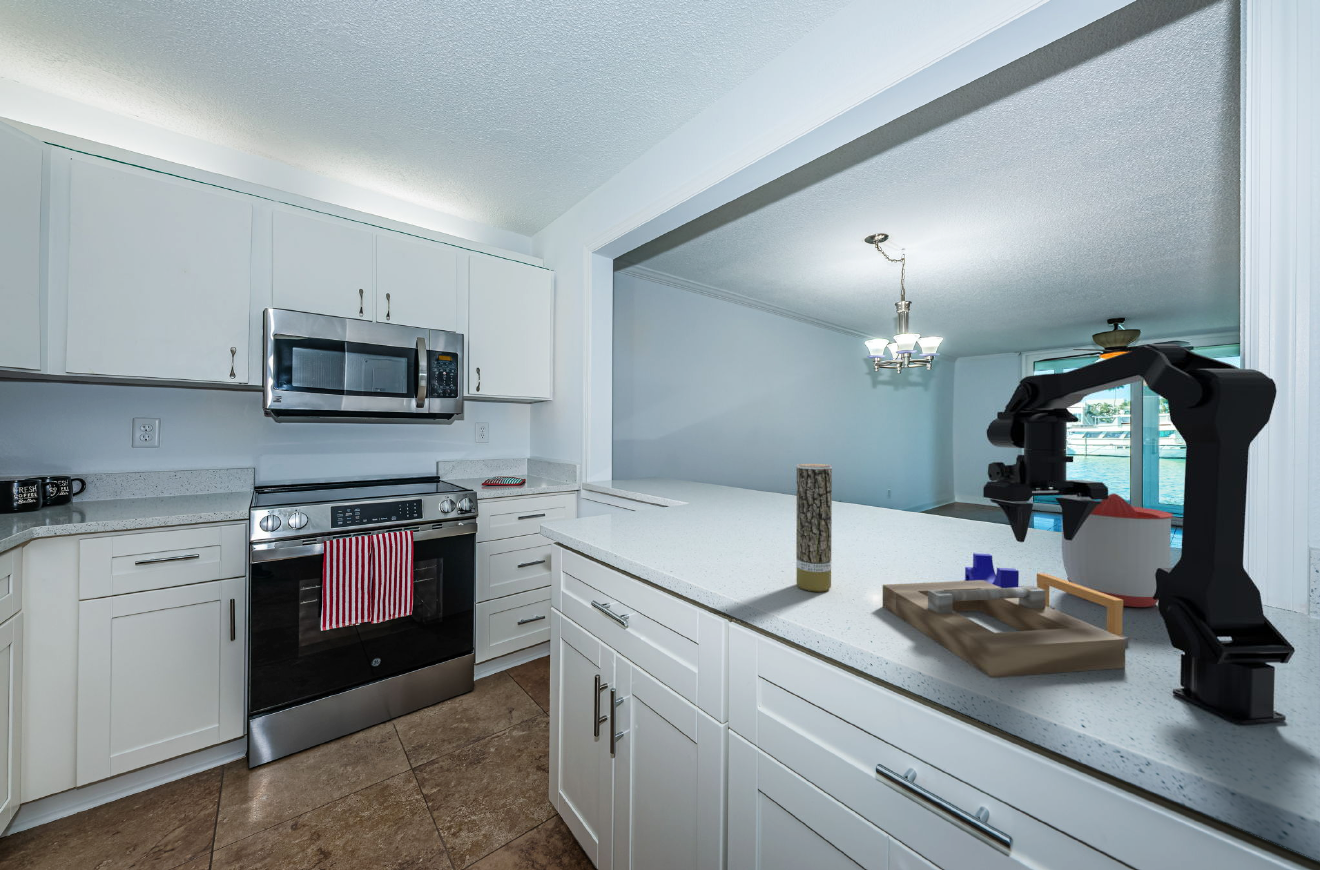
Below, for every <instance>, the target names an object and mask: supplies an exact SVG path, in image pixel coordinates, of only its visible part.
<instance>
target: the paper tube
mask: <svg viewBox="0 0 1320 870" xmlns="http://www.w3.org/2000/svg"><path fill="white" fill-rule="evenodd" d="M832 482H833V468H832V464H826V463H825V464H824V463H799V464H796V537H795V538H796V541H795V543H796V544H795V545H796V547H795V548H796V557H795V560H796V562H795V563H796V574H795V575H796V581H795V582H796V584H797V586H798V588H800V589H801V590H804V591H808V592H815V593H816V592H817V593H818V592H819V593H822V592H826V591H828V590H830V588H831V587H832V533H833V532H832V529H833V528H832V521H833V520H832V515H833V513H832V503H833V502H832V501H833V500H832V499H833V498H832V497H833V496H832V493H833V492H832V489H833V487H832V486H833V483H832Z"/></svg>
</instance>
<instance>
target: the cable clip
mask: <svg viewBox="0 0 1320 870" xmlns="http://www.w3.org/2000/svg"><path fill="white" fill-rule="evenodd" d="M993 561H994V560H993V555H991V554H990V553H976V552H975V553H974V552H973V553H972V566H964V567H965V568H964V570H965V571H964V581H976V580H984V581H986V582H989V583H991V584H994V585H996V586H998V587H1001V588H1016V587H1019V586H1020V584H1019V581H1020V580H1019V579H1020V576H1019V573H1020V571H1019V570H1018V569H1016V568H1011V567H1010V568H1009V567H996V571H995V568H994V562H993Z"/></svg>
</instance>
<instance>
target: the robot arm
mask: <svg viewBox="0 0 1320 870" xmlns="http://www.w3.org/2000/svg"><path fill="white" fill-rule="evenodd" d="M1142 381H1144V382H1145V383H1146V385H1147V388H1148V389H1149V390H1151V392H1153V393H1155V394H1156V395H1158V396H1159V397H1162V399H1164V400H1166V401H1167V405H1168V406H1167V407H1168V412H1169V419H1170V420H1169V421H1170V422H1171V423H1172V425H1173V426H1174V428H1175V429H1176V430H1177V432H1178V434H1179V435H1180V436H1181V437H1182V439H1183V440H1184V443H1185V465H1184V485H1183V511H1182V512H1183V513H1182V529H1181V531H1182V532H1181V549H1180V550H1181V554H1180V555H1181V556H1180V558H1179V560H1178V561H1177V562H1176V564H1175V565H1174V566H1173V567H1170V568H1158V569H1157V571H1156V574H1155V578H1156V592H1155V594H1154V596H1153V599H1154V600H1158V601H1157V607H1158V612H1159V615H1160V617H1161V618H1162V619H1163V622H1164V625H1165V629H1166V631H1167V635H1168V637H1169V640H1170V644H1171V646H1172V647H1173V648H1175V649H1177V650H1179V651H1181V652H1182V653H1181V654H1180V669H1179V670H1180V678H1179V681H1180V683H1179V684H1180V686H1181V687H1180V688H1172V694H1173V695H1175V696H1177V697H1180V698H1181V699H1184V700H1186V701H1187V702H1190V703H1191V704H1194V705H1195V706H1198V707H1200V708H1202V709H1204V710H1206V711H1208V712H1211V713H1213V714H1214V715H1217V716H1219V717H1221V718H1224V719H1226V720H1227V721H1230V722H1232V723H1234V724H1237V725H1250V724H1252V725H1253V724H1262V723H1276V722H1285V721H1286V719H1287V718H1286V717H1287V716H1286V715H1284V714H1282V713H1280V712H1278V711H1276V710H1275V680H1276V679H1275V678H1276V677H1275V675H1276V674H1275V671H1276V667H1275V666H1274V665H1271V664H1272V663H1273V664H1275V663H1277V664H1278V663H1279V664H1288V663H1289V661H1290V660H1291V658H1292V657H1293V655H1294V653H1295V651H1296V650H1295V647H1294V646H1293V645H1292V644H1291V642H1289V641H1288V639H1286V638H1285V637H1284V635H1283V634H1282V633H1281V632H1280V631H1279V630H1278V629H1277V627H1275V625H1274V624H1273V623H1272V622H1271V621H1270V620H1269V619H1268V618H1267V617H1266V616H1265V615H1264V614H1265V613H1264V610H1263V609H1264V608H1263V603H1262V602H1263V601H1262V597H1261V592H1260V590H1259V589H1260V588H1258V586H1257V585H1256V584H1255V582H1254V581H1253V579H1252V578H1251V577H1250V575H1249V574H1248V572H1247V571H1246V569H1245V568H1244V551H1245V549H1244V548H1245V545H1244V544H1245V527H1246V511H1247V510H1246V509H1247V507H1246V506H1247V493H1248V492H1247V489H1248V488H1247V487H1248V472H1249V470H1248V469H1249V450H1250V447H1251V446H1250V445H1251V444H1252V442H1253V441H1254V439H1256V437H1257V436H1258V435H1259V433H1260V432H1261V431H1262V430H1263V429H1264V427H1265V426H1267V424H1268V423H1269V421H1270V419H1271V415H1272V411H1273V408H1274V404H1275V402H1276V401H1275V400H1276V397H1277V385H1276V383H1275V381H1274V380H1273V378H1271V377H1270V378H1269V376H1267V375H1266V373H1263V372H1262V371H1259V370H1256V369H1253V368H1240V367H1238V366H1236V365H1233V364H1231V363H1227V362H1224V361H1222V360H1221V361H1220V360H1218V359H1215V358H1211V357H1208V356H1204V355H1201V354H1199V353H1196V352H1194V351H1192V350H1190V349H1189V348H1186V347H1183V346H1181V345H1180V344H1179V345H1178V344H1174V343H1170V344H1169V343H1167V344H1163V343H1162V344H1159V343H1158V344H1153V343H1149V344H1142V345H1140V346H1137V347H1136V348H1134V349H1133V350H1130V351H1128V352H1124V353H1120V354H1118V355H1115V356H1111V357H1109V358H1105V359H1103V360H1099V361H1096V362H1093V363H1090V364H1087V365H1084V366H1081V367H1079V368H1075V369H1072V370H1070V371H1069V370H1068V371H1066V372H1057V373H1056V372H1055V373H1043V374H1035V375H1027V376H1025V377H1023V378H1022V379H1021V380H1020V381H1019V384H1018V386H1017V387H1016V389H1015V390H1014V392H1013V394H1012V396H1011V397H1010V400H1009V401H1008V403H1007V404H1006V405H1005V409H1004V411H998V412H997V413H996V414H997V415H996V417H997V418H995V419H994V420H992V421H991V422H990V423H989V425H988V427H987V429H986V437H987V438H986V439H987V440H988V441H989V443H990V444H991V445H992V446H994V447H996V448H1008V449H1010V448H1011V449H1023V454H1017V456H1016V459H1015V460H1016V461H1015V463H1014V464H1006V463H1004V462H1003V461H997V462H994V461H993V462H991V463H989V464H988V466H987V476H988V478H989V479H988V480H989V481H987V482H985V484H984V485H983V489H982V491H983V493H982V495H983V496H982V497H983V498H988V499H989V501H990V502H991V503H994V504H996V505H997V506H998V507H1000V508H1001V510H1002V511H1003V512H1004V514H1005V517H1006V518H1007V520H1008V523H1009V525H1010V528H1011V531H1012V533H1013V535H1014V538H1015V540H1016V541H1017V542H1018V543H1024V542H1025V541H1026V537H1027V535H1028V529H1029V524H1030V520H1031V517H1032V516H1031V515H1032V513H1033V512H1032V511H1033V507H1034V503H1031V502H1029V501H1030V499H1032V497H1046V496H1053V497H1054V496H1055V497H1054V499H1055V500H1056V502H1057V503H1058V505H1059V506H1061V507H1060V508H1061V515H1062V516H1061V524H1062V523H1063V534H1064V539H1065V540H1069V541H1070V540H1072V539H1073V538H1074V536H1075V535H1076V533H1077V532H1078V530H1079V529H1080V527H1081V526H1082V524H1083V523H1084V522H1085V520H1086V519H1087V517H1088V516H1089V515H1090V514H1091V512H1092V511H1093V510H1094V509H1095V507H1096V506H1097V505H1101V503H1102V502H1101V500H1102V499H1108V495H1109V487H1108V486H1106V484H1105V483H1104V482H1102V481H1093V480H1084V479H1067V463H1074V455H1067V424H1068V423H1078V422H1079V417H1077V416H1076V415H1074V414H1073V413H1071V412H1070V411H1069V409H1068V408H1070V407H1072V406H1075V405H1076V404H1079V403H1081V402H1082V401H1083V399H1084V398H1085V397H1088V396H1089V395H1092V394H1096V393H1100V392H1104V391H1107V390H1111V389H1115V388H1120V387H1122V386H1126V385H1130V384H1133V383H1134V384H1135V383H1139V382H1142ZM1005 464H1006V465H1005ZM1057 496H1058V497H1057ZM1225 637H1226V638H1230V639H1231V640H1220V639H1219V638H1225ZM1270 663H1271V664H1270Z"/></svg>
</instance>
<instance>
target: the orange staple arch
mask: <svg viewBox="0 0 1320 870" xmlns="http://www.w3.org/2000/svg"><path fill="white" fill-rule="evenodd" d="M1036 587H1038V588H1040V589H1043V590H1046V596H1045V606H1047V607H1049V608H1052V609H1054V610H1056V608H1055V607H1053V606H1052V605H1050V588H1054V589H1057V590H1059V591H1063V592H1065V593H1068V594H1070V595H1073V596H1076V597H1079V598H1081V599H1084V600H1088V601H1089V602H1093V603H1095V604H1098V605H1101V606H1103V607H1106V610H1107V611H1106V631H1107V632H1110V633H1112V634H1115V635H1117V636H1120V637H1122V638H1124V639H1126V643H1125V647H1129V644H1130V643H1129V641H1130V640H1129V639H1130V637H1127V636H1125V635H1123V610H1124V606H1123V600H1122V599H1119V598H1116V597H1113V596H1110V595H1107V594H1104V593H1101V592H1098V591H1095V590H1092V589H1089V588H1086V587H1083V586H1080V585H1077V584H1075V583H1072V582H1069V581H1068V580H1066V579H1063V578H1060V577H1057V576H1054V575H1052V574H1051V575H1050V574H1048V573H1045V572H1041V573H1040V572H1039V573H1038V572H1037V573H1036Z"/></svg>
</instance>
